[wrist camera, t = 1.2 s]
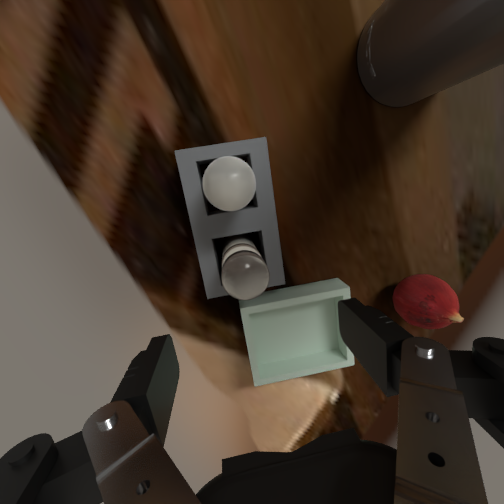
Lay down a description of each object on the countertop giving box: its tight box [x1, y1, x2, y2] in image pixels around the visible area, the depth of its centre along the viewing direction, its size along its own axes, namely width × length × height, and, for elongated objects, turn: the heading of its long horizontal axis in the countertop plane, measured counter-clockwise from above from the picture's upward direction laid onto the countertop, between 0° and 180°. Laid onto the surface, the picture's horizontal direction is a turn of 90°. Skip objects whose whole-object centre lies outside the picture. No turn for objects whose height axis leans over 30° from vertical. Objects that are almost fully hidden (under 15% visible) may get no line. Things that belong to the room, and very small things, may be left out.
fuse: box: [203, 156, 256, 211], centre depth 22 cm, size 4×4×9 cm
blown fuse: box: [222, 234, 270, 300], centre depth 24 cm, size 4×4×9 cm
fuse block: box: [175, 137, 285, 299], centre depth 25 cm, size 8×14×4 cm, turn 9°
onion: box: [392, 274, 463, 329], centre depth 28 cm, size 6×6×8 cm
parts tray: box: [239, 278, 354, 387], centre depth 30 cm, size 12×10×3 cm
